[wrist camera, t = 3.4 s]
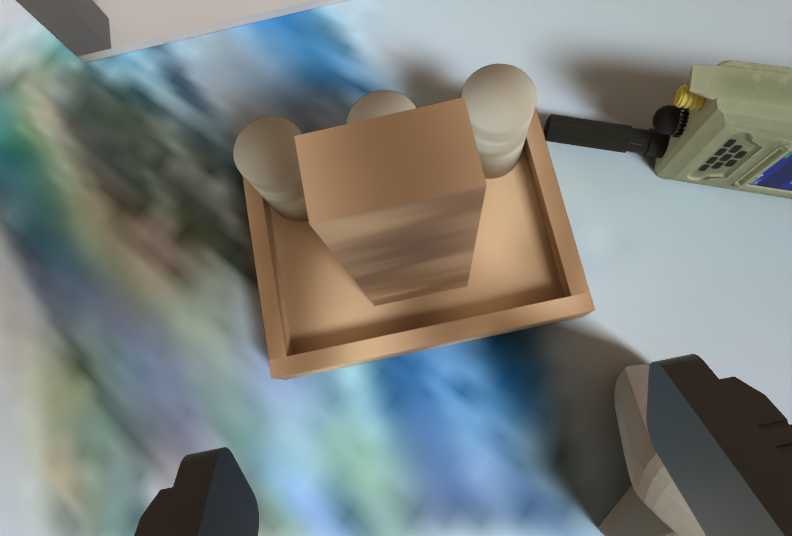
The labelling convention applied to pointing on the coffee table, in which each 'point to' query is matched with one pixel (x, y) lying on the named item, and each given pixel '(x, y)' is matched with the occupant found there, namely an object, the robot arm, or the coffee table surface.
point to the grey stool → (149, 20)
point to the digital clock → (644, 471)
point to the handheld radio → (709, 130)
